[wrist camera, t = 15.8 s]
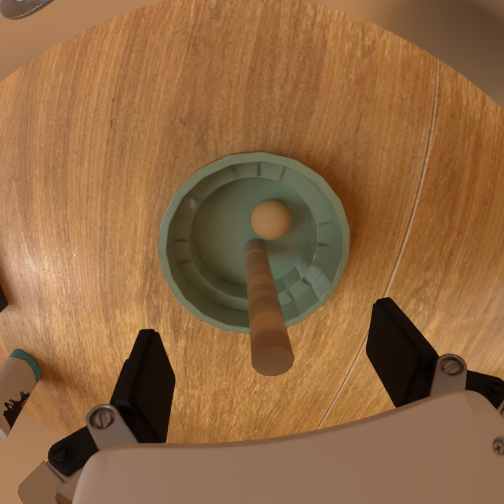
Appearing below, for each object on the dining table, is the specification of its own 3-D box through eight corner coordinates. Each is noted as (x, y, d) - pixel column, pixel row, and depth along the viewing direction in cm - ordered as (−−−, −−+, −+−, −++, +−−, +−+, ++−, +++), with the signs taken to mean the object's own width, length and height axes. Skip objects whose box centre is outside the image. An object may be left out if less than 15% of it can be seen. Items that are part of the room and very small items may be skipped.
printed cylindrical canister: (9, 356, 33) (-29, 410, 19) (19, 344, 32) (-24, 403, 18) (34, 382, 35) (2, 439, 21) (46, 372, 34) (11, 436, 20)
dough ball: (268, 184, 24) (275, 208, 22) (295, 205, 26) (304, 230, 24) (241, 209, 26) (243, 235, 23) (268, 228, 28) (273, 254, 25)
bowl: (162, 164, 25) (142, 169, 19) (324, 146, 25) (348, 147, 19) (189, 306, 30) (181, 340, 25) (327, 290, 30) (345, 320, 25)
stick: (245, 237, 27) (255, 345, 12) (266, 239, 27) (298, 347, 12) (243, 256, 28) (249, 375, 13) (263, 258, 28) (289, 377, 13)
